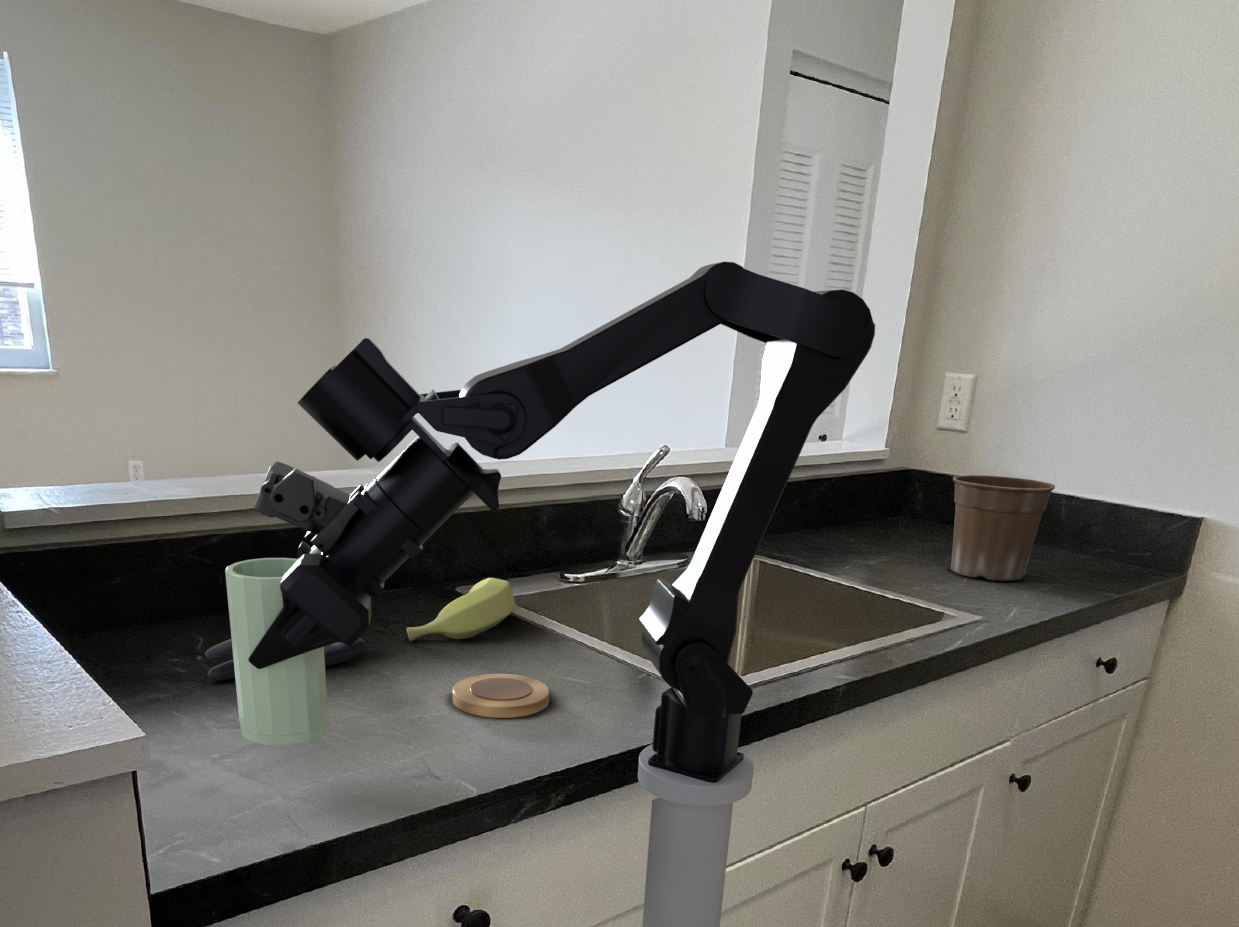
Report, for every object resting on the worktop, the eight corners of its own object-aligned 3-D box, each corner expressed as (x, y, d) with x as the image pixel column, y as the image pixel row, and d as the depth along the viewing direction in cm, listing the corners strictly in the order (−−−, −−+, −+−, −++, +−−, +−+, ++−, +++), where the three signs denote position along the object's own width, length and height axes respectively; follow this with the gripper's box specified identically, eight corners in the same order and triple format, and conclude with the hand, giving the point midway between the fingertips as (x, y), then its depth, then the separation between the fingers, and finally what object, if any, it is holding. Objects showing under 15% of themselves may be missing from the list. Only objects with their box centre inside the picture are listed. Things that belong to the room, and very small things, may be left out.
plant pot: (917, 565, 174) (933, 474, 169) (984, 561, 181) (1001, 473, 175) (986, 588, 161) (1005, 489, 155) (1055, 582, 167) (1076, 487, 162)
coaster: (567, 697, 103) (567, 685, 103) (512, 726, 95) (513, 713, 95) (490, 677, 108) (490, 666, 107) (432, 703, 100) (432, 691, 99)
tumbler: (346, 725, 78) (338, 566, 74) (283, 752, 73) (270, 583, 68) (287, 707, 81) (275, 553, 77) (222, 732, 76) (206, 568, 71)
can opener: (340, 643, 116) (338, 598, 114) (372, 659, 112) (370, 611, 110) (192, 673, 104) (187, 622, 102) (221, 691, 100) (216, 639, 98)
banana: (542, 565, 127) (429, 612, 113) (552, 606, 129) (442, 656, 115) (472, 573, 136) (360, 617, 122) (482, 610, 138) (373, 658, 124)
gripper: (331, 413, 78) (199, 548, 80) (306, 440, 61) (139, 611, 63) (432, 513, 82) (305, 639, 84) (435, 564, 65) (275, 721, 67)
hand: (260, 649), depth 74 cm, fingers closed on tumbler, 7 cm apart
